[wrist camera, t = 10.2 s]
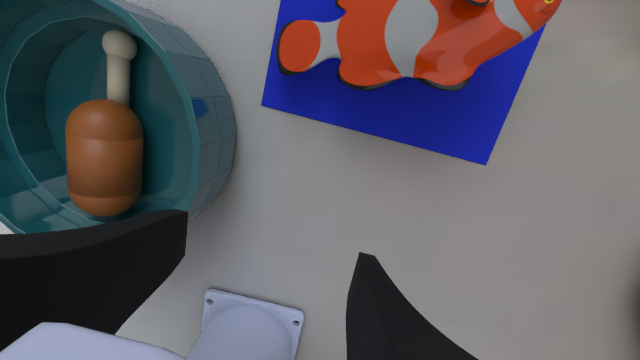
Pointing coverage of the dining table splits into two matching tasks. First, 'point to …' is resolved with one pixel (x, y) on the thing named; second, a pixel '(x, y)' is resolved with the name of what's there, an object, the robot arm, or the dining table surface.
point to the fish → (406, 67)
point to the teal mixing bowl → (91, 83)
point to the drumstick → (107, 139)
